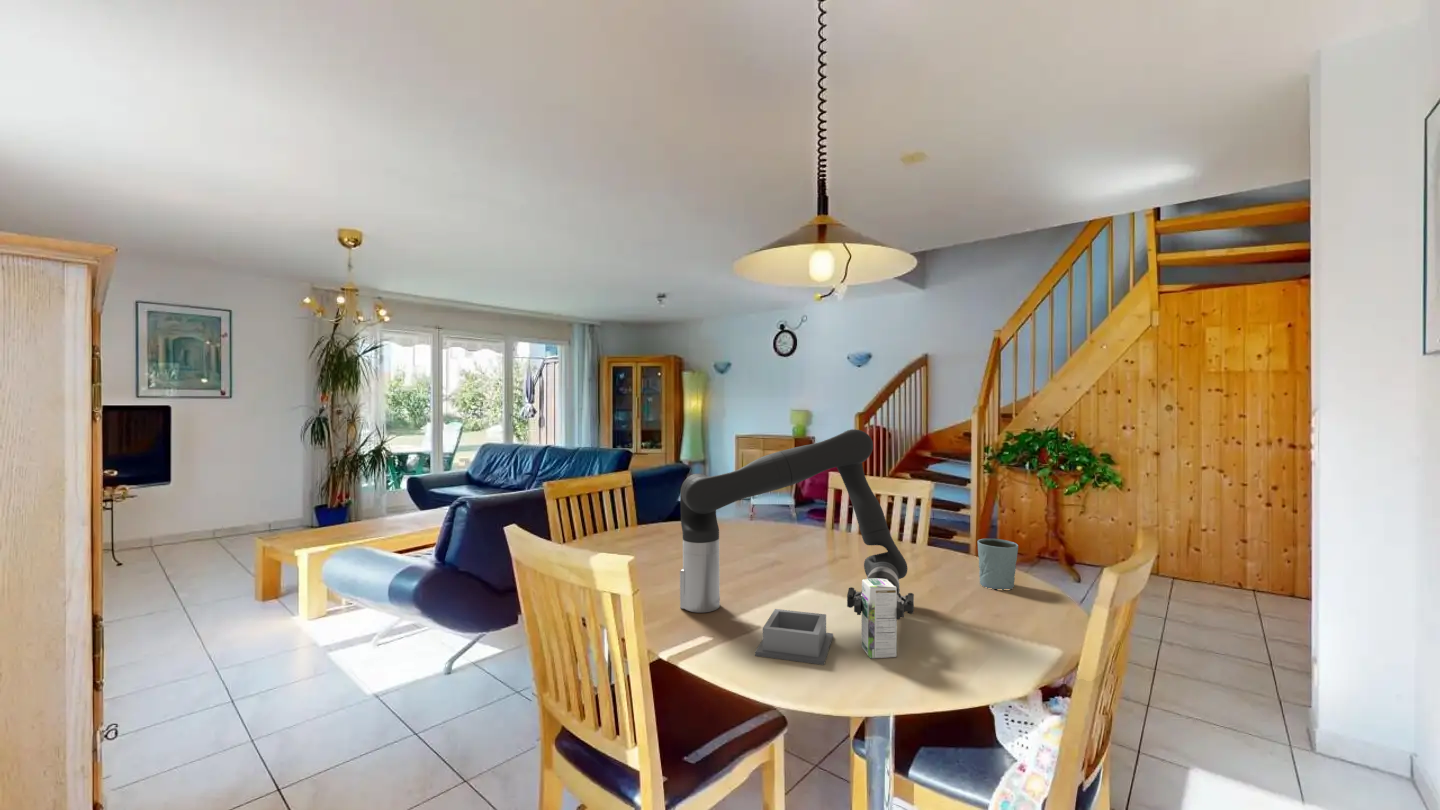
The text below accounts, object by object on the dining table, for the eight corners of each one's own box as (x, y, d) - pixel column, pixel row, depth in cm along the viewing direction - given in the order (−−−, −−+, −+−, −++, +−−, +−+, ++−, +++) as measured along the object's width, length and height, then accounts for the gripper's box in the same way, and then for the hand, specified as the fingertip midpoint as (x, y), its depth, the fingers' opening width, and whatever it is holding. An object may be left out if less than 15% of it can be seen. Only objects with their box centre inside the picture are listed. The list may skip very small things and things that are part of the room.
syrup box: (860, 647, 123) (859, 578, 123) (887, 645, 123) (887, 577, 123) (869, 659, 117) (869, 587, 117) (898, 657, 118) (897, 586, 118)
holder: (755, 655, 119) (754, 629, 119) (770, 629, 133) (770, 606, 133) (823, 665, 115) (823, 638, 115) (833, 636, 128) (832, 612, 128)
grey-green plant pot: (970, 580, 166) (970, 538, 166) (1003, 579, 167) (1003, 537, 167) (990, 592, 156) (990, 547, 156) (1026, 591, 157) (1026, 546, 157)
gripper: (850, 568, 136) (842, 590, 120) (915, 573, 132) (915, 597, 116) (850, 600, 136) (842, 626, 120) (915, 606, 132) (915, 635, 116)
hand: (878, 612), depth 118 cm, fingers closed on syrup box, 7 cm apart
